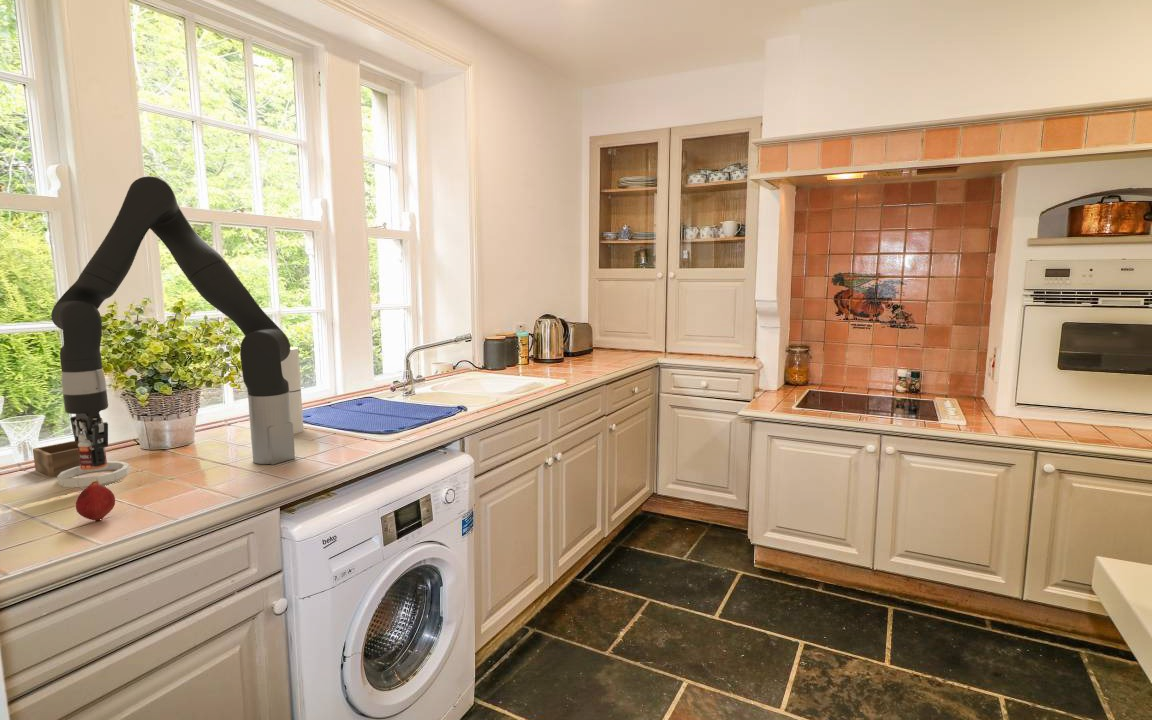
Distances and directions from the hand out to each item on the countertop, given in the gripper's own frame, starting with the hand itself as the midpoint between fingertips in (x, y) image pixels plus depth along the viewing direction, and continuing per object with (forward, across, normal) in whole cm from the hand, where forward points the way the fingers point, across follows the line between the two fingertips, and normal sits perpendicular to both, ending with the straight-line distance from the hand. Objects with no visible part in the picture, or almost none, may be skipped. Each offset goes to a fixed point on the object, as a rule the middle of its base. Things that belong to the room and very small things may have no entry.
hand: (93, 462), depth 135 cm
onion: (+4, -27, +9) cm, 29 cm away
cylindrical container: (+4, +2, -49) cm, 49 cm away
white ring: (+4, 0, 0) cm, 4 cm away
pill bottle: (+2, 0, 0) cm, 2 cm away
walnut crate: (+4, +13, +1) cm, 14 cm away
